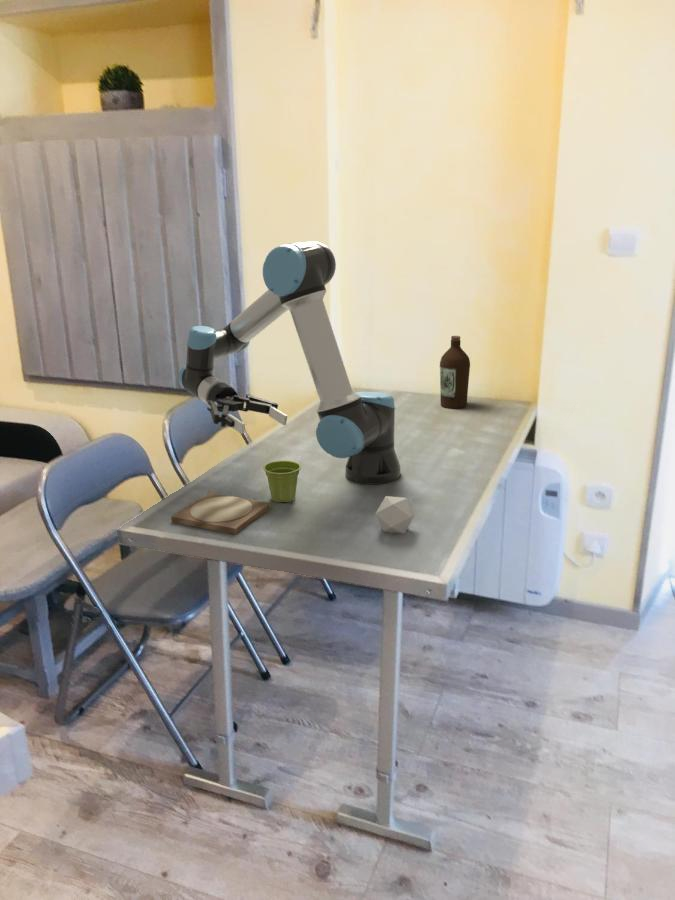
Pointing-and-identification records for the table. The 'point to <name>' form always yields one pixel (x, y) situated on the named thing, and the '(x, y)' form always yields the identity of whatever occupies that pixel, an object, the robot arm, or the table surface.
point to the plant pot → (282, 479)
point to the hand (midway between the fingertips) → (265, 424)
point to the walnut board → (221, 513)
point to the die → (395, 514)
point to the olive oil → (454, 376)
